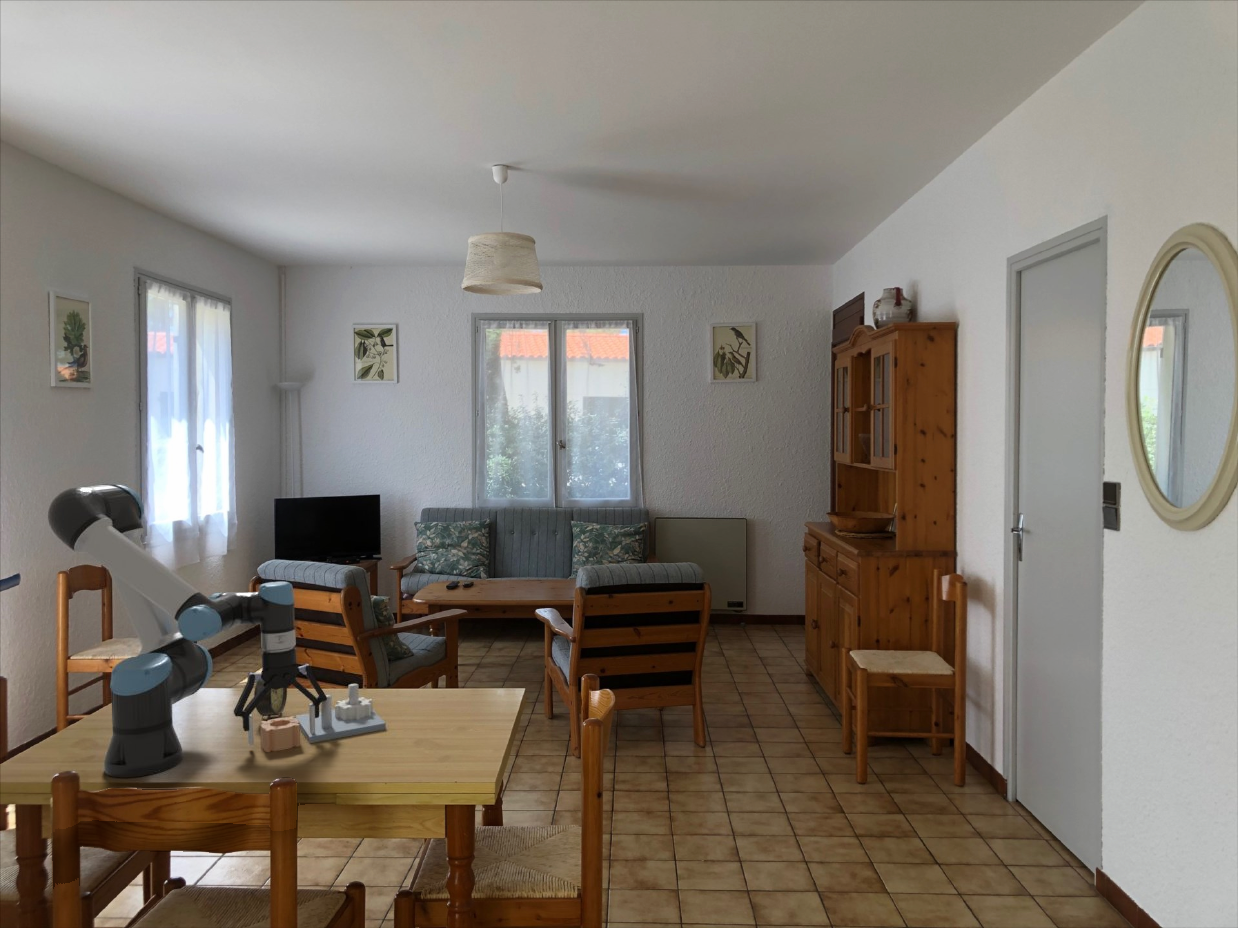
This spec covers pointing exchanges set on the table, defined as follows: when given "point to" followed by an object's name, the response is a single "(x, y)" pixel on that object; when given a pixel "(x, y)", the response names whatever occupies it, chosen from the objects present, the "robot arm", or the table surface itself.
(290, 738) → the loose gear
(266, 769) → the table surface
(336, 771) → the table surface
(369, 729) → the gear board
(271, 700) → the alarm clock
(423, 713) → the table surface
